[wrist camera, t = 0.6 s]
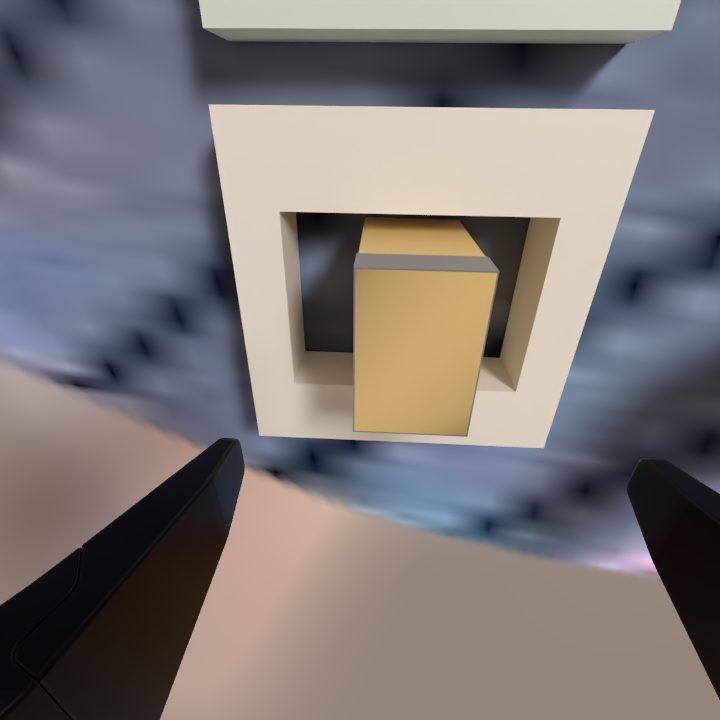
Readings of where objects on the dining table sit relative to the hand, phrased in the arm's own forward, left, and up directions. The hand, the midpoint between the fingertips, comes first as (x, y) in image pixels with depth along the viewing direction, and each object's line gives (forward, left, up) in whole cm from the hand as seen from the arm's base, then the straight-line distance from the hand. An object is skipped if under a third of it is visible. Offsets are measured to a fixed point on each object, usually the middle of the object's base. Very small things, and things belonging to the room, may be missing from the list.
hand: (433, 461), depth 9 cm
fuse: (0, 0, -11) cm, 11 cm away
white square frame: (0, 0, -11) cm, 11 cm away
